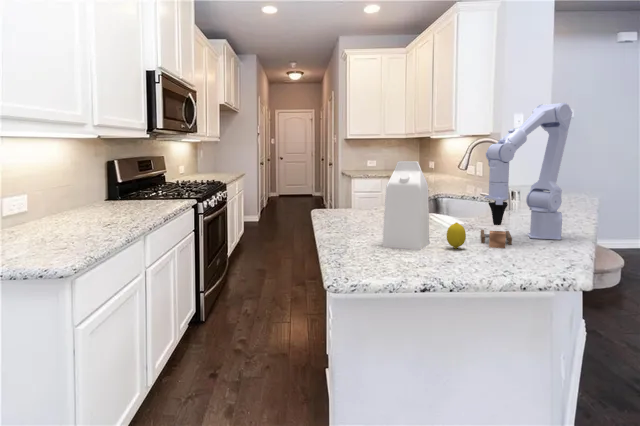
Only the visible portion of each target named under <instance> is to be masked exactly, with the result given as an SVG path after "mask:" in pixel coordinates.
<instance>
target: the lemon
mask: <svg viewBox="0 0 640 426" xmlns="http://www.w3.org/2000/svg"><path fill="white" fill-rule="evenodd" d="M466 239H467V234H466V229H465V227H464V226H463V225H462V224H460V223H458V222H455V223H453V224H451V225H449V227H448V229H447V231H446V241H447V243H448V244H449V246H451V247H453V248H454V250H457V249H458V248H459V247H461V246H463V245H464V243H465V242H466Z"/></svg>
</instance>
